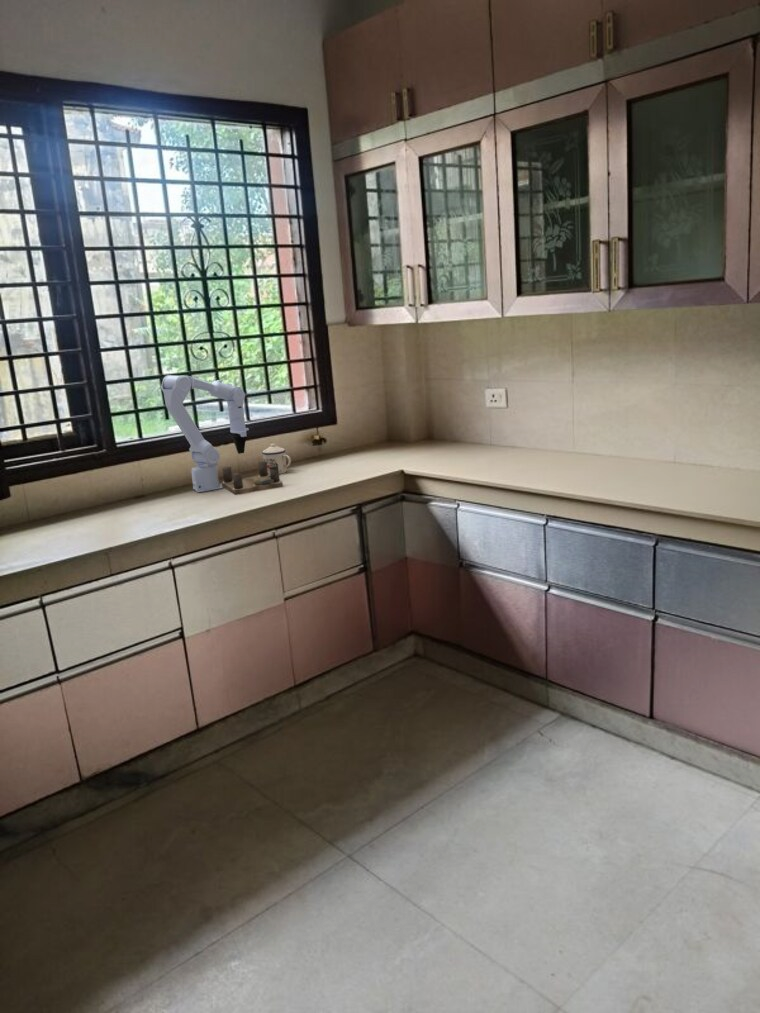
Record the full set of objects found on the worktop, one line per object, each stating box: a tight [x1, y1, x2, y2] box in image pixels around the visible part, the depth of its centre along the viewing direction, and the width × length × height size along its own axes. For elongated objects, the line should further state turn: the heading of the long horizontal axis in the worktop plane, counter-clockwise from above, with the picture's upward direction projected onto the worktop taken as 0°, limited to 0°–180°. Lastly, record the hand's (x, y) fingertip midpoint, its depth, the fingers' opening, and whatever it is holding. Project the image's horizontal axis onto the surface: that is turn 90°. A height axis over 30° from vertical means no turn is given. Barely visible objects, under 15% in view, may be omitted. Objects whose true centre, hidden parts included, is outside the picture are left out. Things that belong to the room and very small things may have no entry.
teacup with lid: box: [262, 443, 292, 475], centre depth 308 cm, size 12×9×12 cm
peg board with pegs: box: [221, 460, 284, 495], centre depth 288 cm, size 18×18×7 cm
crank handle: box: [254, 465, 281, 485], centre depth 283 cm, size 10×3×6 cm, turn 119°
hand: (241, 453), depth 299 cm, fingers closed
